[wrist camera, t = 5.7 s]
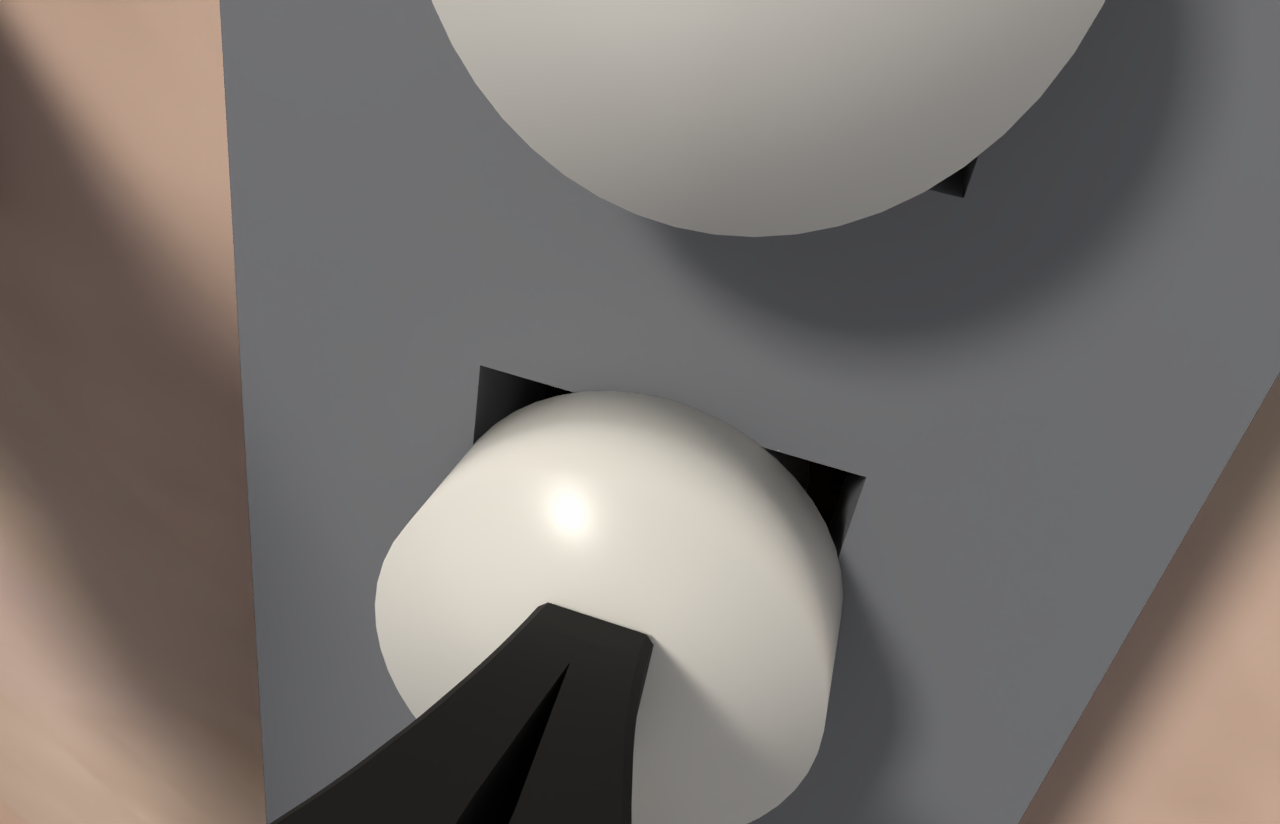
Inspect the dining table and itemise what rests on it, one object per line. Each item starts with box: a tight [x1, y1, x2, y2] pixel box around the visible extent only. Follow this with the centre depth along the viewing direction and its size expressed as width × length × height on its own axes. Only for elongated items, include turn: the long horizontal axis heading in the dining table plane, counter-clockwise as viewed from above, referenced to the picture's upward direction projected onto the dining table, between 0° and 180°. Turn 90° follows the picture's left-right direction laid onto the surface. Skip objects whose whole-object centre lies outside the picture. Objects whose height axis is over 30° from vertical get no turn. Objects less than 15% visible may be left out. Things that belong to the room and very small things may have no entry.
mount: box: [220, 0, 1280, 824], centre depth 15 cm, size 12×24×3 cm, turn 170°
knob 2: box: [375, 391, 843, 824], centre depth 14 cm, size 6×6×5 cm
